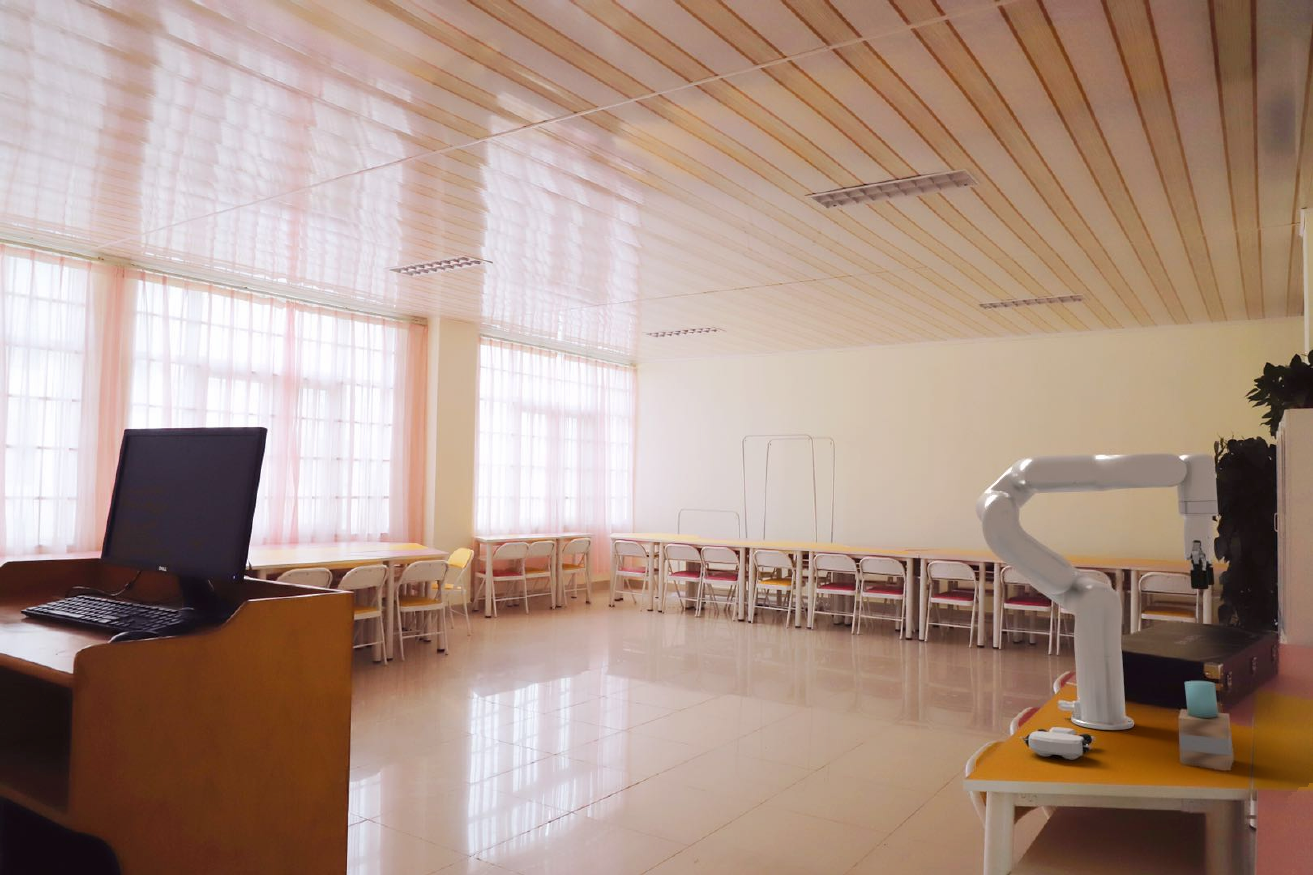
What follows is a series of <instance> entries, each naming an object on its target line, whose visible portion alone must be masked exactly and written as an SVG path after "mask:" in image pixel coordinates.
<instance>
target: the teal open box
mask: <svg viewBox="0 0 1313 875" xmlns="http://www.w3.org/2000/svg"><path fill="white" fill-rule="evenodd" d="M1184 690H1185V697H1186V698H1185V699H1186V700H1185V701H1186V707H1187V708H1186V710H1188V715H1190V716H1193V717H1201V718H1214V717H1218V713H1219V711H1218V710H1219V709H1218V703H1217V700H1218V699H1217V692H1216V684H1215V682H1212V681H1206V680H1189V681H1184Z"/></svg>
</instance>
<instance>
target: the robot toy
mask: <svg viewBox="0 0 1313 875" xmlns="http://www.w3.org/2000/svg"><path fill="white" fill-rule="evenodd" d="M1021 739H1022V740H1023V741H1024V743H1025V745H1026V746H1027V747H1029V749H1030V750H1031V751H1034V752H1035V753H1036V754H1037V755H1039V756H1040V757H1044V758H1046V757H1047V758H1048V757H1051V756H1053V755H1057V756H1061V757H1063V758H1064V759H1066V760H1068V759H1069V761H1073V760H1076V759H1078V758H1079V757H1081V756H1083V754H1086V753H1087V752H1088V751H1089V750H1091V749H1092V746H1091V745H1090V744H1092V742H1094V741H1096V737H1095V736H1092V735H1091V734H1089V733H1083V734H1078V735H1077V731H1075V730H1074V729H1073V728H1068V727H1059V726H1058V727H1057V726H1055V727H1054V726H1052V727H1051V728H1050V729H1049V731H1048V730H1046V729H1044V728H1038V729H1037V730H1036V731H1033V732H1031V733H1029V734H1027V736H1025V737H1023V736H1020V740H1021Z"/></svg>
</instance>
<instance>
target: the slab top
mask: <svg viewBox="0 0 1313 875" xmlns="http://www.w3.org/2000/svg"><path fill="white" fill-rule="evenodd" d="M1177 718H1178V722H1177V723H1178V735H1179V734H1185V735H1194V736H1202V737H1211V738H1220V739H1229V735H1230V730H1231V723H1230V722H1231V721H1230V713H1226V712H1225V713H1223V712H1218V717H1214V718H1201V717H1193V716H1190V715H1188V710H1187V708H1186V709H1184V708H1181V709H1180V711H1179V714H1178V717H1177Z"/></svg>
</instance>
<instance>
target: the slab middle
mask: <svg viewBox="0 0 1313 875" xmlns="http://www.w3.org/2000/svg"><path fill="white" fill-rule="evenodd" d="M1178 741H1179V742H1178V744H1179V751H1180V750H1186V751H1194V752H1202V753H1210V754H1218V755H1226V756H1230V751H1231V746H1233V744H1232V730H1231V729H1230V735H1229V739H1220V738H1211V737H1202V736H1194V735H1185V734H1179V733H1178Z"/></svg>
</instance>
